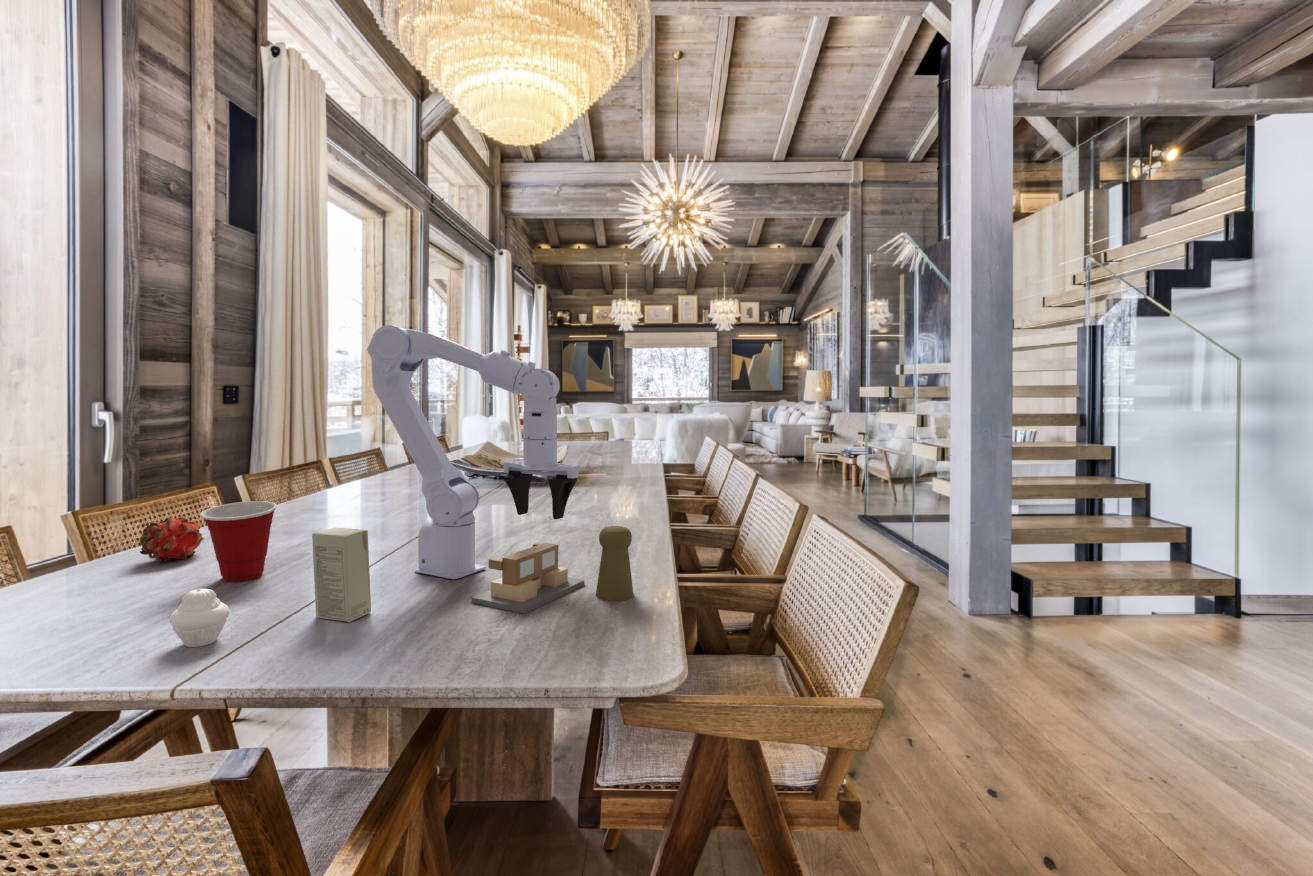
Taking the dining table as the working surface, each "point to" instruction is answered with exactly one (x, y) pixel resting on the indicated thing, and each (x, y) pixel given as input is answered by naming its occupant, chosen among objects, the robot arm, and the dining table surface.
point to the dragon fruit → (170, 539)
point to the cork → (615, 565)
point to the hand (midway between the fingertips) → (540, 516)
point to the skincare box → (341, 574)
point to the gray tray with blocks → (528, 592)
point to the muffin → (199, 618)
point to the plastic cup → (240, 537)
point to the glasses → (527, 563)
